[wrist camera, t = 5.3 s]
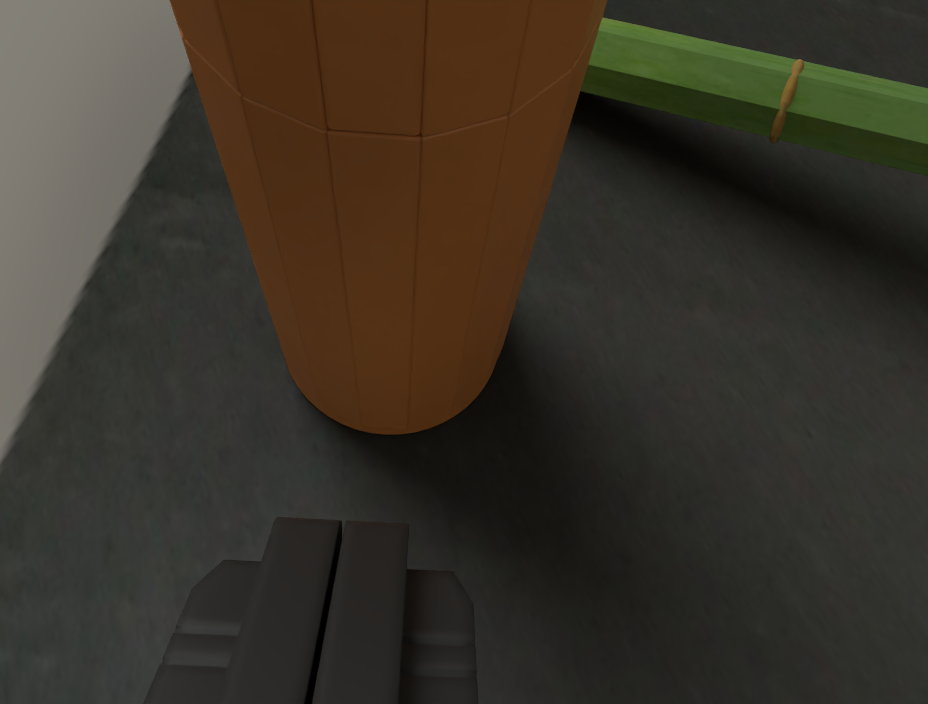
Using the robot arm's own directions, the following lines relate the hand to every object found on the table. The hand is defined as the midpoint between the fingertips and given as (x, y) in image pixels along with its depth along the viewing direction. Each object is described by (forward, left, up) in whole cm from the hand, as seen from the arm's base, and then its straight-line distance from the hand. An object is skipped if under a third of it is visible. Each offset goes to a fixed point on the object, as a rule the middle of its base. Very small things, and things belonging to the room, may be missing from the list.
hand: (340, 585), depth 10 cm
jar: (+7, +3, -11) cm, 13 cm away
